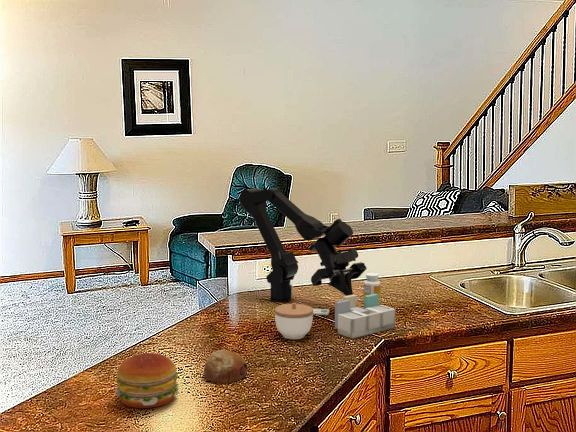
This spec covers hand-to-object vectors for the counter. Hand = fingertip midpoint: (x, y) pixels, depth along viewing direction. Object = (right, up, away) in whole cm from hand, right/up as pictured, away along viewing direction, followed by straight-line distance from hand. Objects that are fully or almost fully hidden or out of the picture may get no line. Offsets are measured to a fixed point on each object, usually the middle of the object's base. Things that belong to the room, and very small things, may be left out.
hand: (351, 297), depth 214 cm
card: (-11, -5, +6) cm, 13 cm away
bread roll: (-34, -13, -47) cm, 59 cm away
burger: (-50, -15, -61) cm, 80 cm away
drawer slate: (-2, -7, -15) cm, 16 cm away
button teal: (+7, -6, -8) cm, 12 cm away
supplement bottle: (+8, -4, +16) cm, 19 cm away
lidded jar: (-18, -9, -17) cm, 26 cm away
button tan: (+1, -7, -9) cm, 11 cm away
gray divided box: (+3, -8, -12) cm, 15 cm away
